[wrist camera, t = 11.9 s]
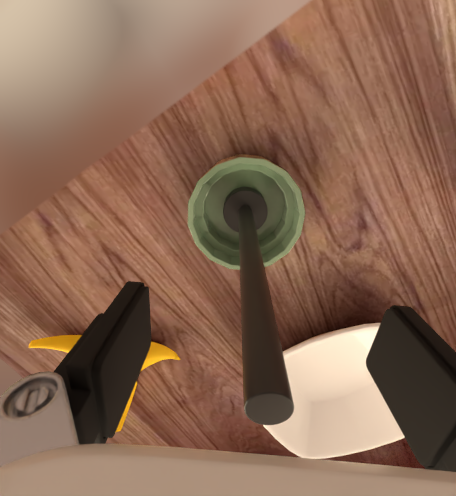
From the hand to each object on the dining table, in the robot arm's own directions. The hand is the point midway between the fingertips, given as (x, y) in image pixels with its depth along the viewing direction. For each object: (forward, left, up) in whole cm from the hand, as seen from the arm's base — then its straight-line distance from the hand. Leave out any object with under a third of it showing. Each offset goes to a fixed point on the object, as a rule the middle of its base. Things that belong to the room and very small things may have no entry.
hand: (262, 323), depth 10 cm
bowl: (+22, +14, -19) cm, 33 cm away
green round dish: (0, 0, -19) cm, 19 cm away
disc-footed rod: (0, 0, -19) cm, 19 cm away
